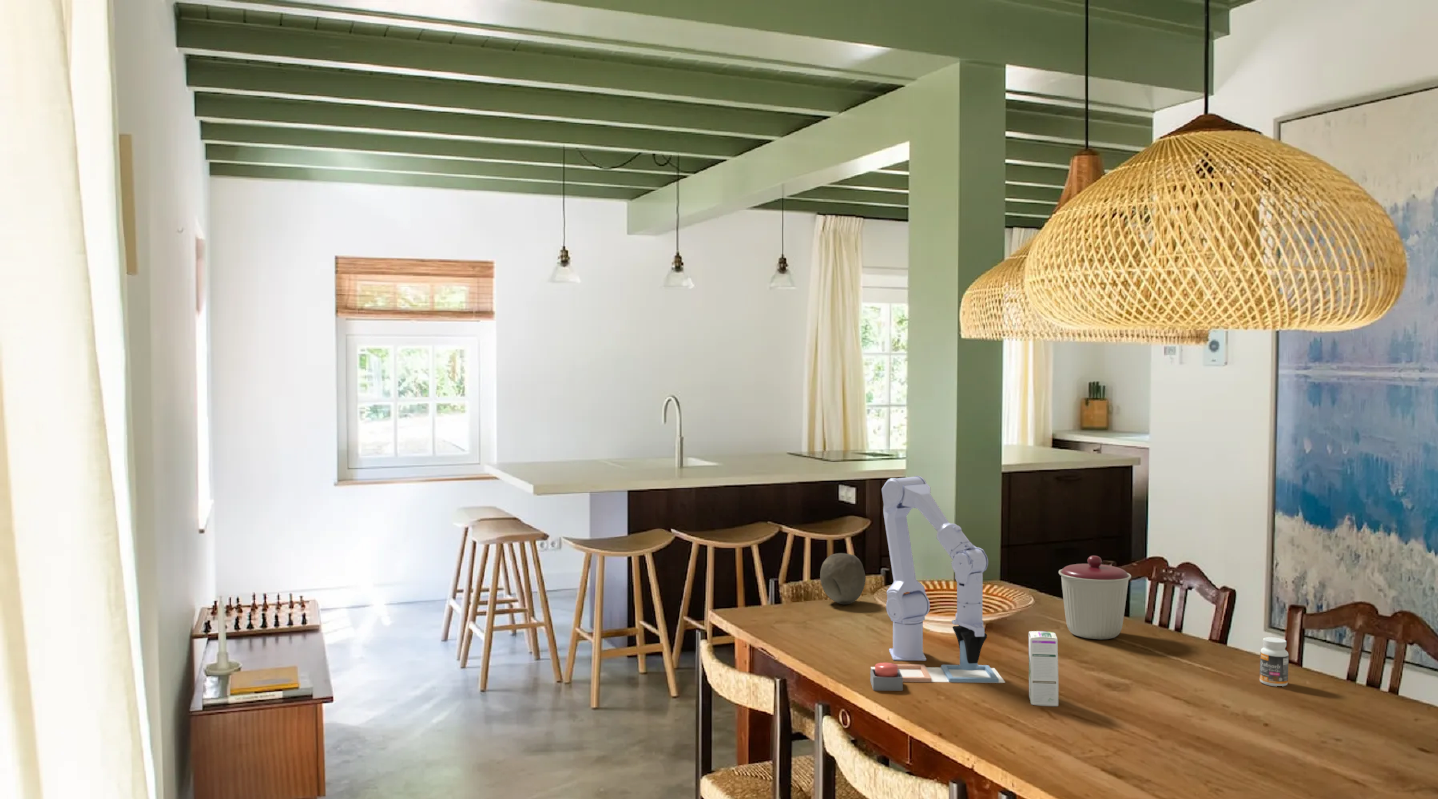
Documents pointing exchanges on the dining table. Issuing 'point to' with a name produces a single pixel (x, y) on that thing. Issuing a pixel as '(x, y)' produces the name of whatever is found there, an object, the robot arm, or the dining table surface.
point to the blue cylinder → (965, 659)
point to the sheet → (939, 675)
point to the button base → (886, 682)
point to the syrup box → (1043, 668)
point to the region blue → (969, 679)
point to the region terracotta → (915, 679)
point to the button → (886, 670)
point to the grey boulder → (842, 578)
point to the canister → (1094, 598)
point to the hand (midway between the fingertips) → (969, 660)
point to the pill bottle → (1274, 662)
